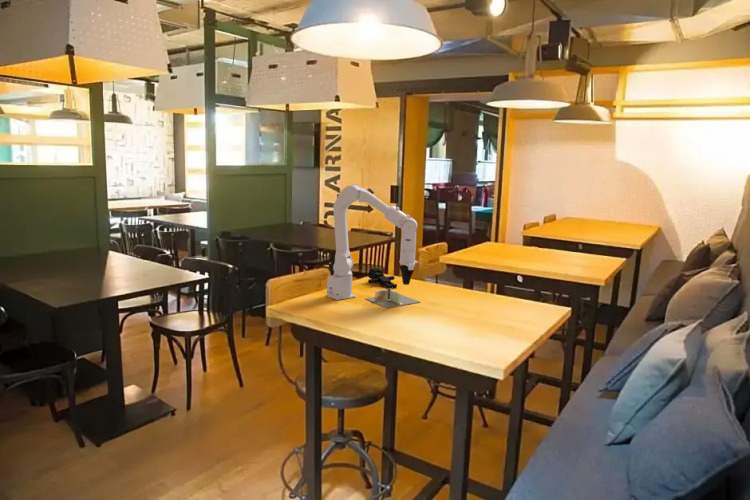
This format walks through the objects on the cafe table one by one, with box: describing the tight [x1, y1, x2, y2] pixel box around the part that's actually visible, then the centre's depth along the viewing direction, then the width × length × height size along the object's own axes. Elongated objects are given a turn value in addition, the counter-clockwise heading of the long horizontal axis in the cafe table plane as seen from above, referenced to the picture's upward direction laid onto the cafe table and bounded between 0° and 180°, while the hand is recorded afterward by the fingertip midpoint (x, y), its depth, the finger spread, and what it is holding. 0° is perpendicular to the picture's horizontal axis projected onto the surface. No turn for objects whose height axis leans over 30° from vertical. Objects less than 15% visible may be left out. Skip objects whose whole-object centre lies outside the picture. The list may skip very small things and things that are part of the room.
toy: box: [367, 267, 398, 289], centre depth 235 cm, size 14×6×15 cm
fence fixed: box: [374, 288, 392, 301], centre depth 210 cm, size 7×1×5 cm, turn 126°
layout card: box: [365, 294, 421, 309], centre depth 211 cm, size 16×14×1 cm
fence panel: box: [389, 289, 402, 304], centre depth 208 cm, size 7×1×4 cm, turn 29°
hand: (405, 284), depth 210 cm, fingers closed
